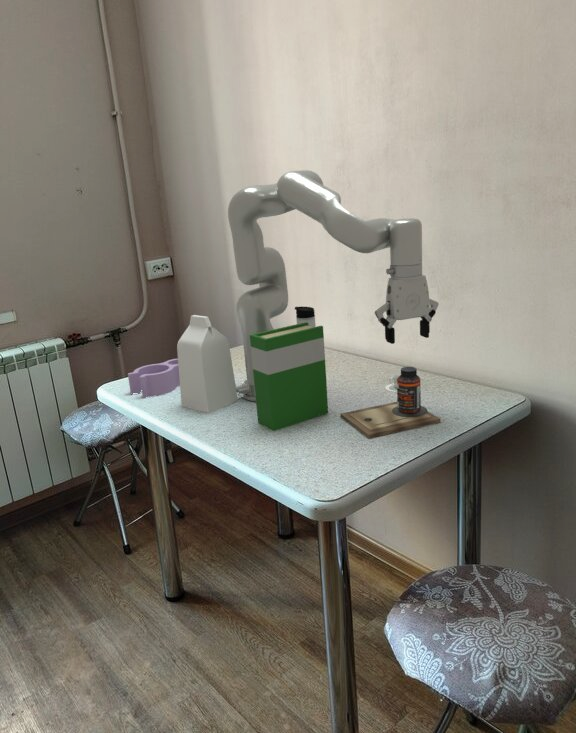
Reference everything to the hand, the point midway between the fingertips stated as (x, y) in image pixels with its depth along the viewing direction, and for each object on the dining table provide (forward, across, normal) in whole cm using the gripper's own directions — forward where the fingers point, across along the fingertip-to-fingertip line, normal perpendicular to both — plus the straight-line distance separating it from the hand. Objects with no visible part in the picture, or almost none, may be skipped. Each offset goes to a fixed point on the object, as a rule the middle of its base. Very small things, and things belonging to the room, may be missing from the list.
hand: (407, 339), depth 154 cm
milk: (+21, -44, +38) cm, 62 cm away
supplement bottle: (+19, 0, 0) cm, 19 cm away
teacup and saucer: (+21, +9, +17) cm, 29 cm away
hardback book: (+20, -27, +14) cm, 37 cm away
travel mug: (+21, -5, +58) cm, 62 cm away
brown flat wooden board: (+20, -6, 0) cm, 21 cm away
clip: (+21, -54, +61) cm, 84 cm away
